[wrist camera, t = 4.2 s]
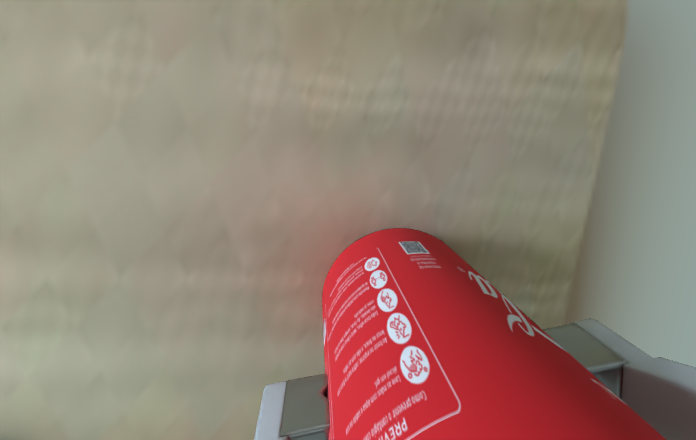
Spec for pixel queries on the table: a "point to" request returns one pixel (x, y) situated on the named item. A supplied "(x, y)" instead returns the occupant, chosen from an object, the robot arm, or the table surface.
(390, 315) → the beverage can
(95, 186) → the table surface
